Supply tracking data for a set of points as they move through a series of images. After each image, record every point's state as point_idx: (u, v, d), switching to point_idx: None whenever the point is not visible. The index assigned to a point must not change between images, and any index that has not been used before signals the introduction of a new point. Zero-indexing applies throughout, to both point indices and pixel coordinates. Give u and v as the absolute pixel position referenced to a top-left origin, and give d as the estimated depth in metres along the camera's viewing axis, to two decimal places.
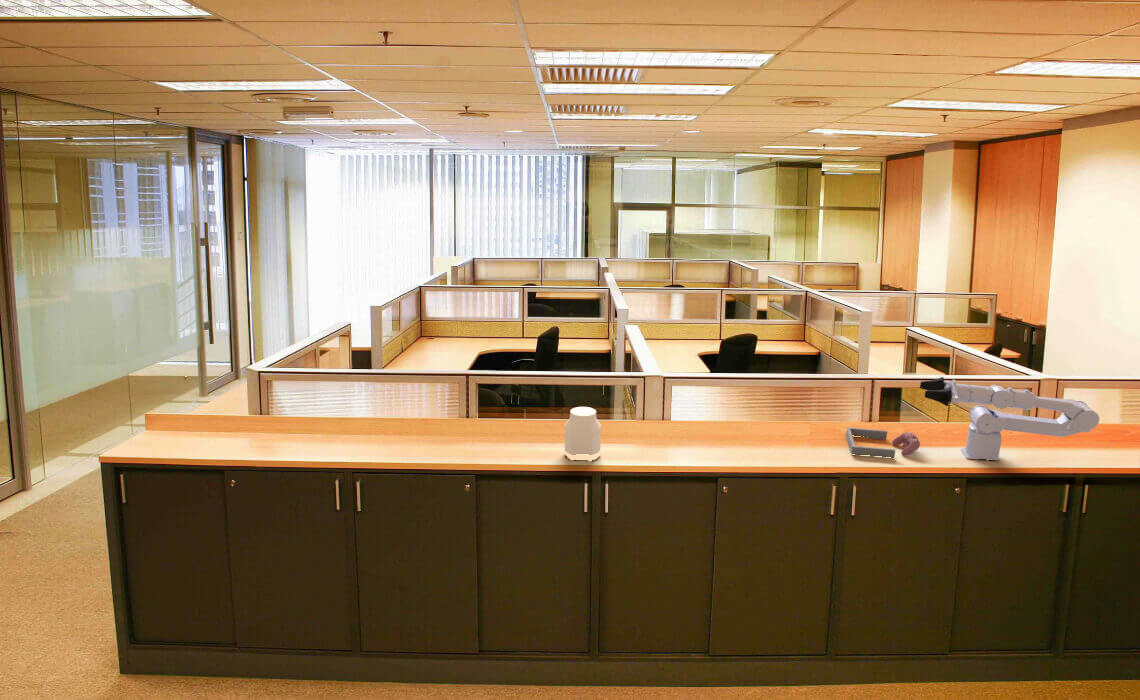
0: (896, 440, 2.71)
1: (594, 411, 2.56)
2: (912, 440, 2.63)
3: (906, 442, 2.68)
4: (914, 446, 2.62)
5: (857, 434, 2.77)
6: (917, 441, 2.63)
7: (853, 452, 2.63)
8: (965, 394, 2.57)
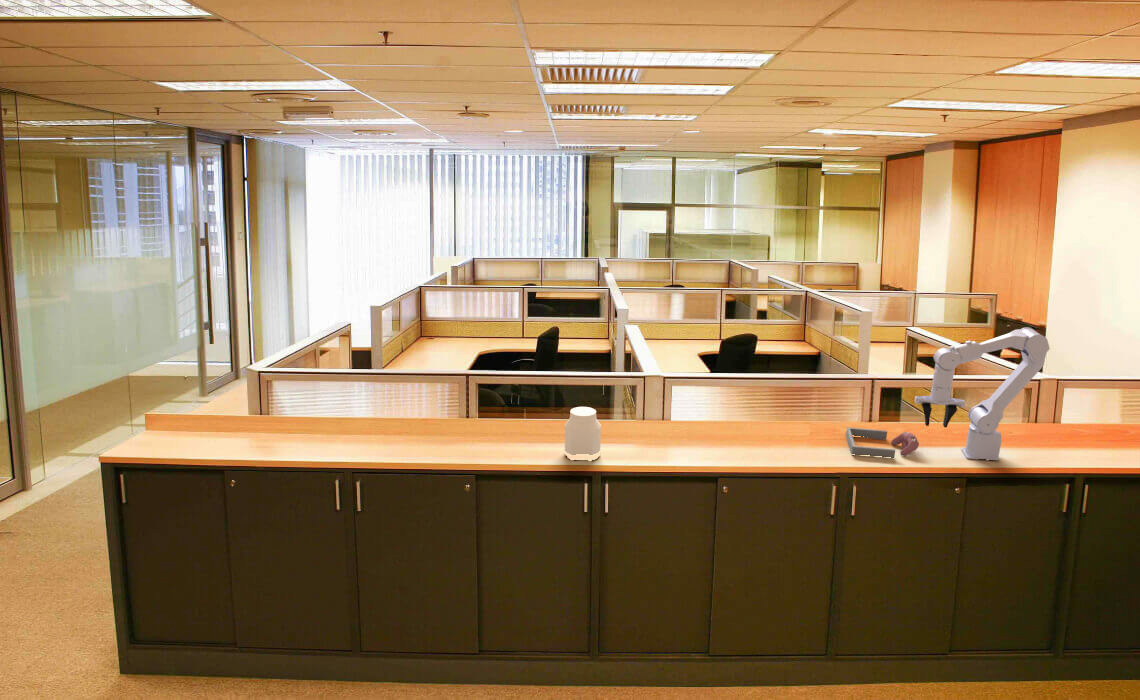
0: (895, 440, 2.70)
1: (594, 411, 2.56)
2: (911, 440, 2.63)
3: (905, 442, 2.68)
4: (913, 446, 2.62)
5: (857, 434, 2.77)
6: (916, 441, 2.63)
7: (853, 452, 2.63)
8: (950, 391, 2.59)
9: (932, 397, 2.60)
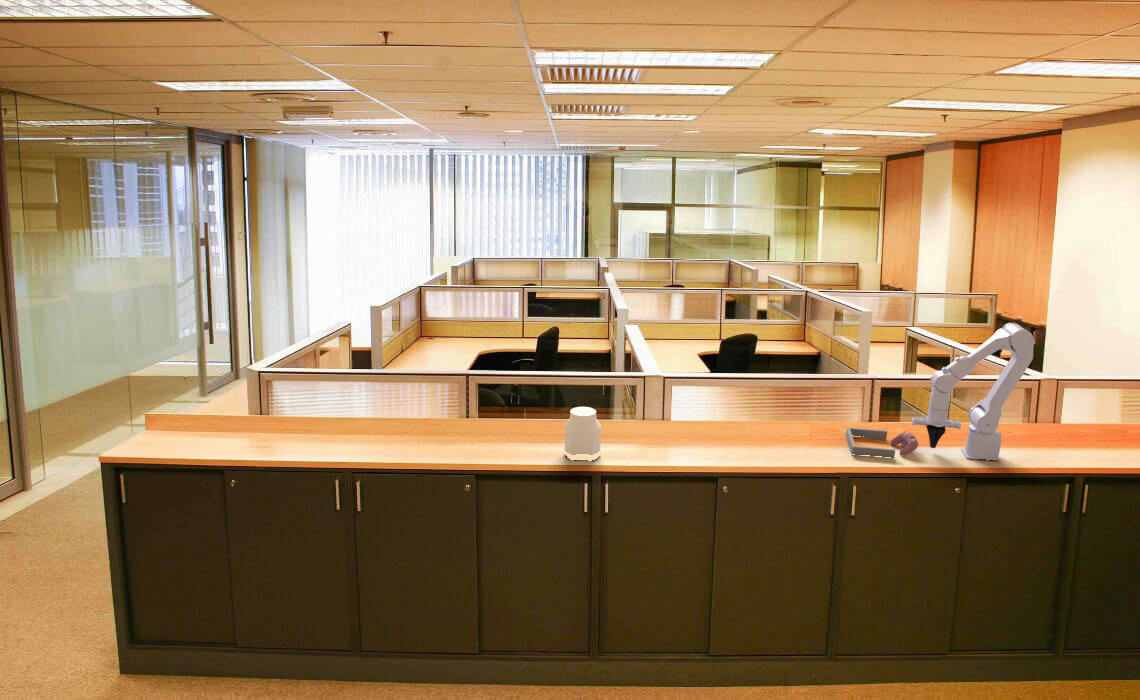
0: (894, 440, 2.70)
1: (594, 411, 2.56)
2: (910, 440, 2.63)
3: (904, 442, 2.68)
4: (912, 446, 2.62)
5: (857, 434, 2.77)
6: (915, 441, 2.63)
7: (853, 452, 2.63)
8: (947, 413, 2.61)
9: (929, 419, 2.62)
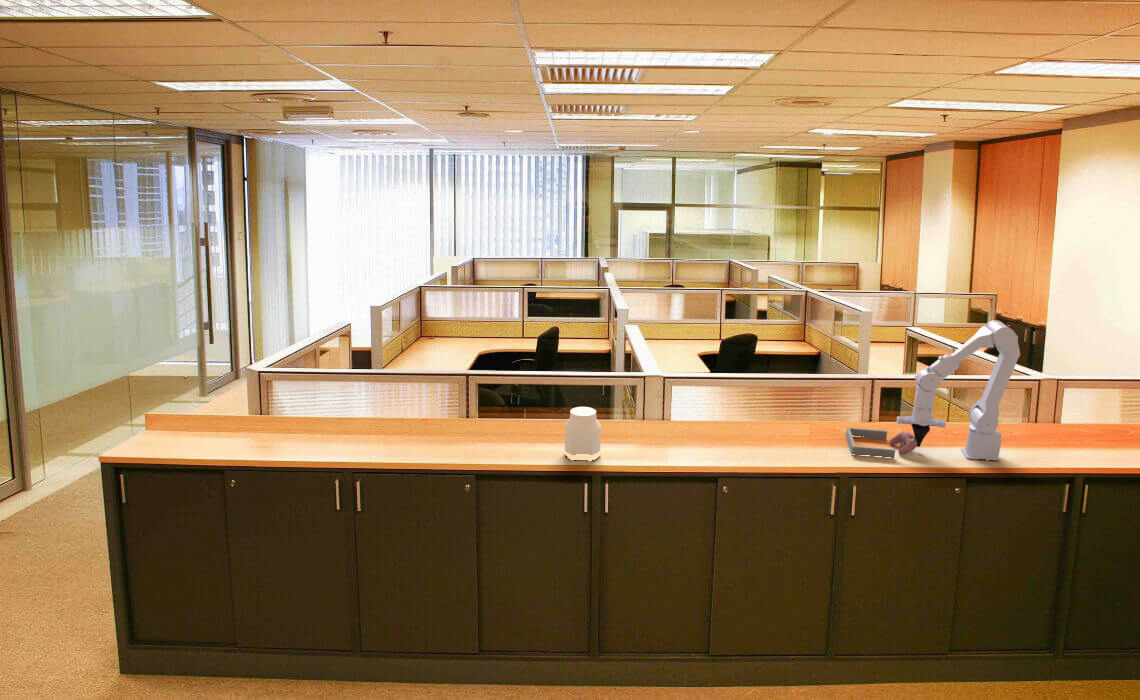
0: (893, 440, 2.70)
1: (594, 411, 2.56)
2: (909, 440, 2.63)
3: (903, 442, 2.68)
4: (911, 446, 2.62)
5: (857, 434, 2.77)
6: (914, 441, 2.63)
7: (853, 452, 2.63)
8: None
9: (913, 418, 2.63)
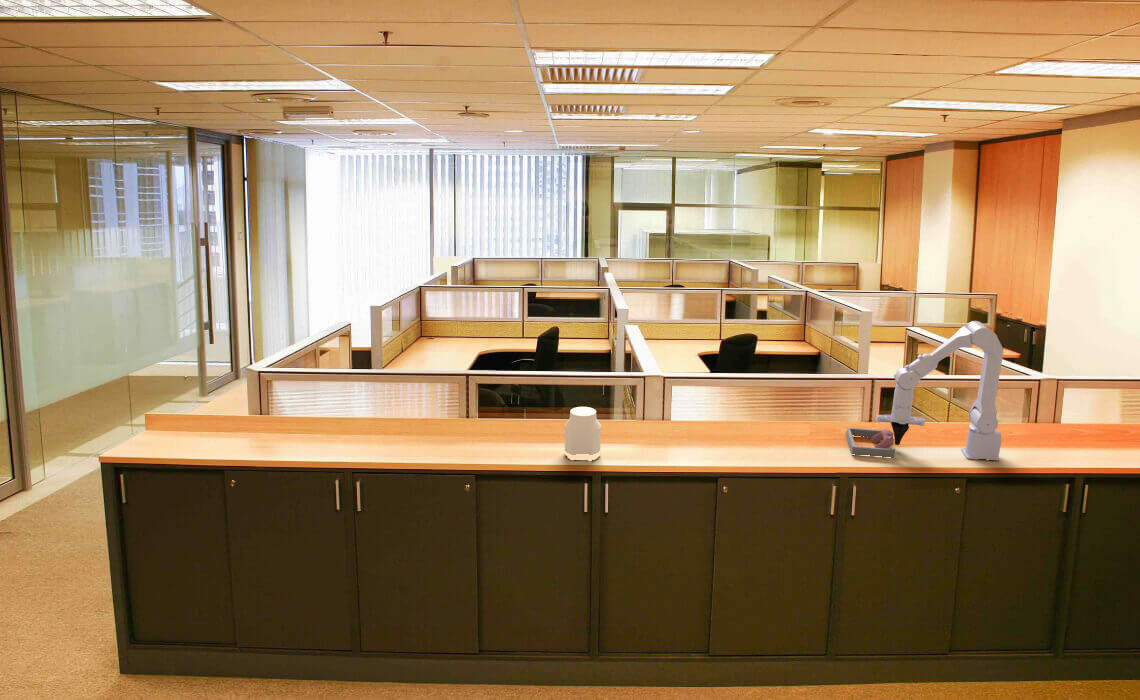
0: (875, 437, 2.73)
1: (594, 411, 2.56)
2: (886, 437, 2.65)
3: (884, 439, 2.70)
4: (886, 443, 2.64)
5: (857, 434, 2.77)
6: (891, 438, 2.64)
7: (853, 452, 2.63)
8: None
9: (893, 416, 2.64)
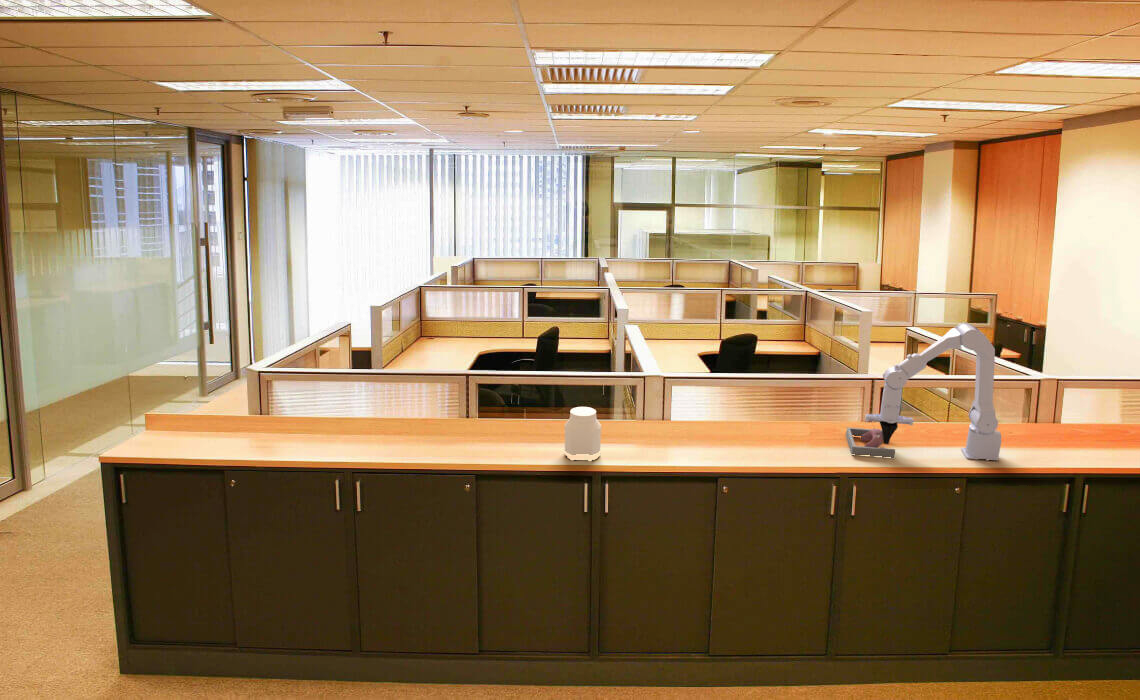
0: (864, 436, 2.73)
1: (594, 411, 2.56)
2: (875, 436, 2.66)
3: (873, 438, 2.71)
4: (875, 442, 2.65)
5: (857, 434, 2.77)
6: (880, 437, 2.65)
7: (853, 452, 2.63)
8: (899, 409, 2.64)
9: (881, 415, 2.65)
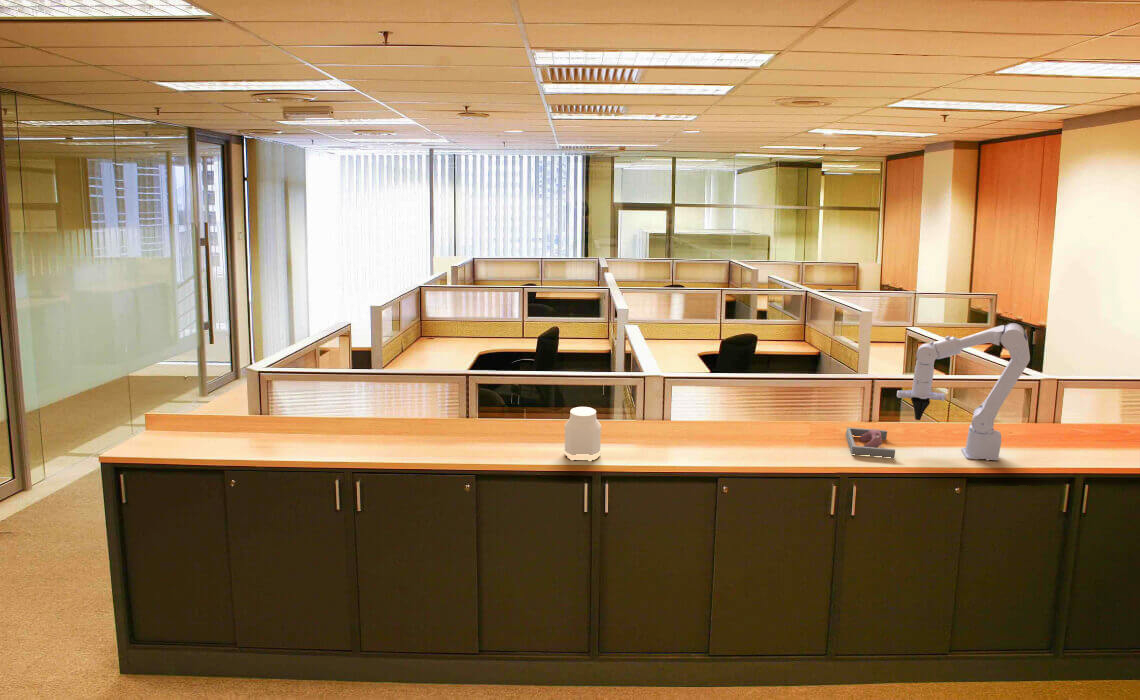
0: (863, 436, 2.73)
1: (594, 411, 2.56)
2: (874, 436, 2.66)
3: (872, 439, 2.71)
4: (875, 442, 2.65)
5: (857, 434, 2.77)
6: (879, 438, 2.65)
7: (853, 452, 2.63)
8: (931, 385, 2.66)
9: (913, 391, 2.67)
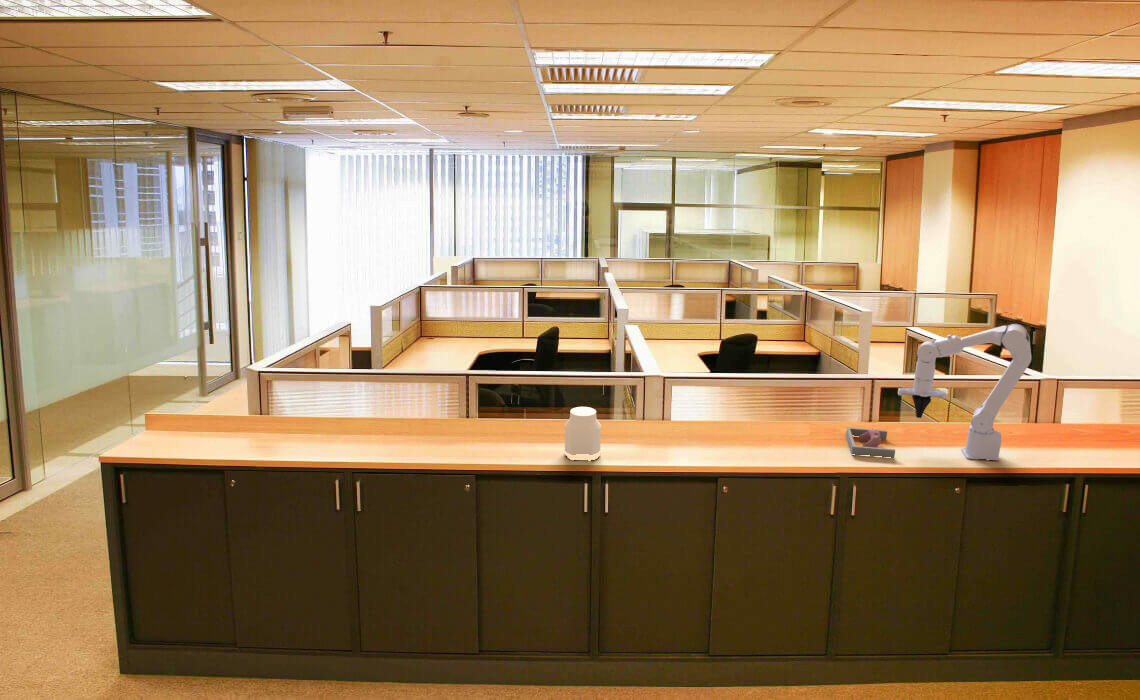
0: (862, 436, 2.73)
1: (594, 411, 2.56)
2: (873, 436, 2.66)
3: (871, 439, 2.71)
4: (874, 442, 2.65)
5: (857, 434, 2.77)
6: (878, 438, 2.65)
7: (853, 452, 2.63)
8: (932, 383, 2.66)
9: (914, 389, 2.67)
